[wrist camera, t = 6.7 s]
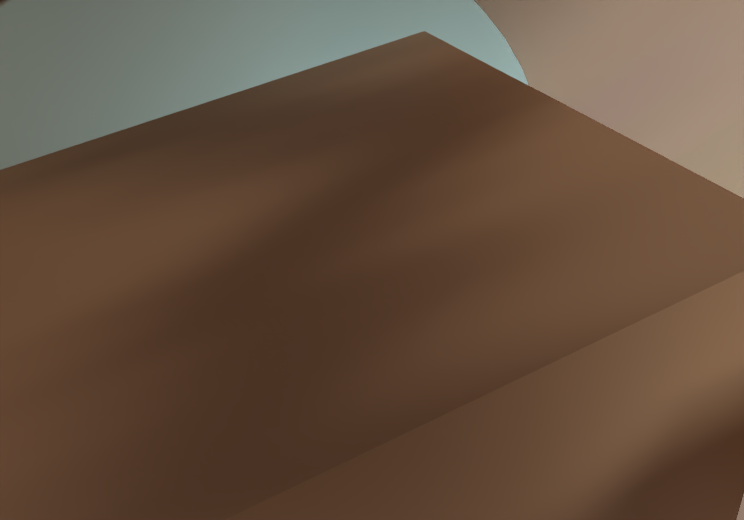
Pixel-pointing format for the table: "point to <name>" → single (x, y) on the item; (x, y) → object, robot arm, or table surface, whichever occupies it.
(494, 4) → the table surface
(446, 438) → the walnut block
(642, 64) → the table surface
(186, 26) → the pale green disc
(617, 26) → the table surface
